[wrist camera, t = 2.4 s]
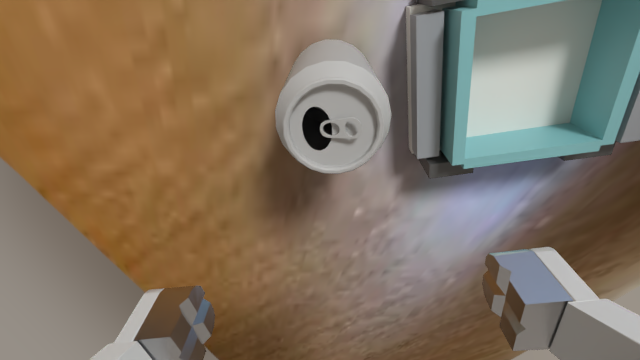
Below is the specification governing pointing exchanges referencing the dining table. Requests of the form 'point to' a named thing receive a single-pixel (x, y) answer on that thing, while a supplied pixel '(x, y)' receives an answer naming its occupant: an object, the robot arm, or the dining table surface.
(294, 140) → the can
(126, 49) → the dining table surface
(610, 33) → the teal and grey tray
